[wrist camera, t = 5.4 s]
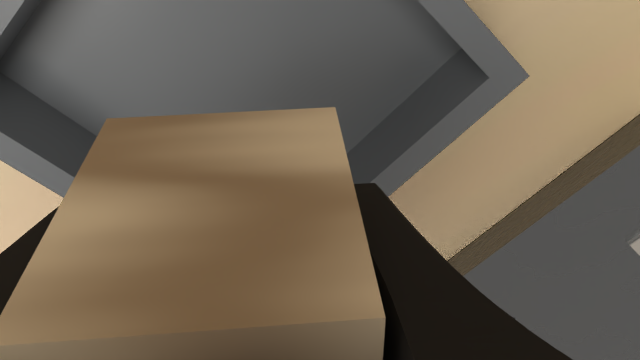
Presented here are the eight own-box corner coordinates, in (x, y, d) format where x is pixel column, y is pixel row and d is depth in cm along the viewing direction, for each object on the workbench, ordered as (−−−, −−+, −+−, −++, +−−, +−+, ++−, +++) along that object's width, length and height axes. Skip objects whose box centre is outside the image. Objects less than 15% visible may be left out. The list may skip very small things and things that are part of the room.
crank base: (498, 485, 32) (507, 510, 31) (298, 374, 26) (300, 401, 24) (800, 315, 26) (825, 338, 25) (643, 111, 20) (667, 129, 18)
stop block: (149, 286, 12) (84, 542, 8) (107, 118, 10) (-17, 346, 5) (335, 274, 12) (372, 514, 8) (335, 107, 10) (385, 318, 6)
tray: (255, 254, 22) (254, 310, 19) (-38, 63, 17) (-92, 105, 14) (492, 40, 18) (529, 75, 15) (199, -291, 13) (183, -321, 10)
